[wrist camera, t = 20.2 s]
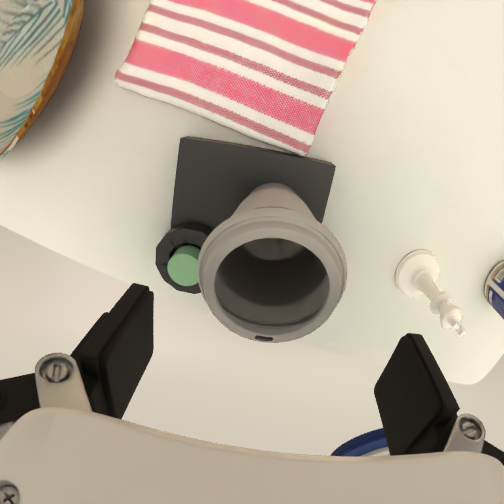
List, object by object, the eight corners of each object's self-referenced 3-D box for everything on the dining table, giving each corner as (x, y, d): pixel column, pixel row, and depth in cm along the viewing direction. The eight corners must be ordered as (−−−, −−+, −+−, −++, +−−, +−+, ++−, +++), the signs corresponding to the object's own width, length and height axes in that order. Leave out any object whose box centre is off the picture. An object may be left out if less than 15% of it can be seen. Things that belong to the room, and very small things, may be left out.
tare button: (204, 278, 26) (200, 289, 24) (172, 272, 26) (166, 282, 24) (208, 248, 25) (204, 257, 23) (174, 241, 25) (168, 250, 23)
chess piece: (418, 240, 26) (470, 294, 17) (446, 266, 27) (496, 323, 18) (385, 278, 28) (423, 345, 19) (415, 302, 29) (454, 367, 20)
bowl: (19, -49, 14) (-20, -63, 7) (177, -41, 17) (147, -82, 10) (-49, 125, 24) (-91, 137, 16) (67, 196, 27) (16, 223, 20)
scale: (297, 292, 29) (300, 313, 26) (166, 267, 29) (154, 285, 26) (331, 162, 24) (340, 169, 21) (179, 135, 24) (165, 138, 21)
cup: (224, 245, 26) (189, 339, 15) (232, 164, 23) (192, 207, 12) (310, 256, 26) (332, 355, 15) (325, 176, 23) (370, 230, 12)
